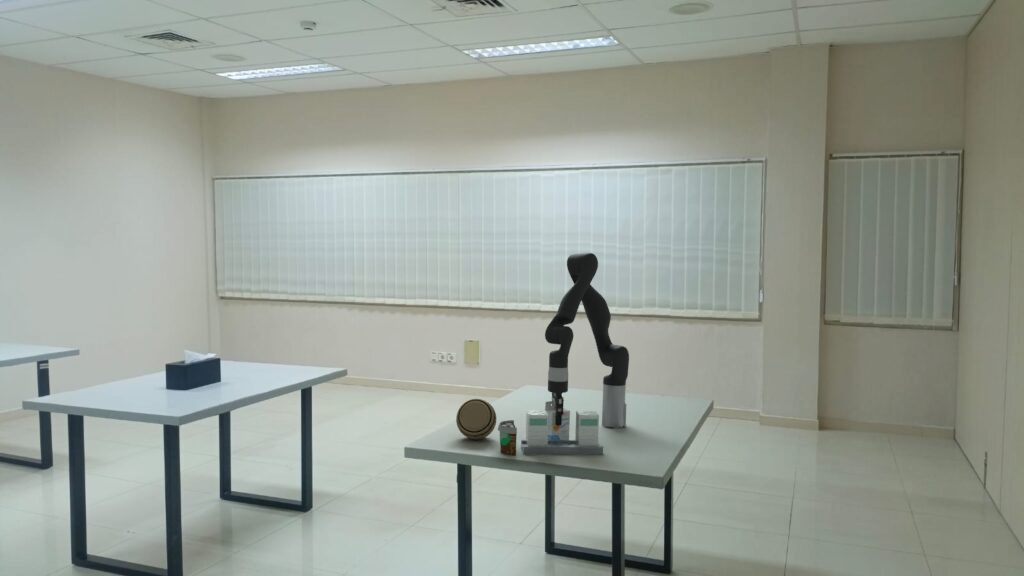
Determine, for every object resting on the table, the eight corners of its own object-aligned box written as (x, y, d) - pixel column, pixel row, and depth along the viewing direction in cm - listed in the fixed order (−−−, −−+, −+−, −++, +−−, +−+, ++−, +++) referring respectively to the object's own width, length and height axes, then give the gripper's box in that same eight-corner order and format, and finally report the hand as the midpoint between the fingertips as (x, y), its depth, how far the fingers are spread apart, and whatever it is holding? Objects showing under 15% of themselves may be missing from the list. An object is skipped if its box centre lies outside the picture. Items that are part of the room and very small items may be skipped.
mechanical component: (448, 437, 277) (449, 397, 277) (480, 432, 286) (481, 393, 286) (470, 446, 265) (471, 404, 265) (503, 440, 275) (504, 400, 274)
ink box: (551, 443, 271) (552, 404, 270) (543, 440, 275) (544, 401, 274) (569, 441, 276) (570, 401, 275) (561, 438, 280) (562, 399, 279)
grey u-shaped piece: (597, 446, 268) (598, 410, 268) (603, 454, 259) (604, 416, 258) (521, 446, 266) (521, 409, 266) (523, 454, 256) (524, 415, 256)
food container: (496, 447, 265) (496, 419, 264) (513, 447, 265) (513, 419, 265) (498, 456, 252) (499, 427, 252) (516, 456, 253) (516, 428, 252)
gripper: (571, 382, 267) (569, 427, 268) (565, 375, 282) (564, 418, 282) (550, 382, 267) (549, 427, 268) (545, 375, 281) (544, 418, 282)
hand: (557, 422), depth 275 cm, fingers closed on ink box, 7 cm apart
